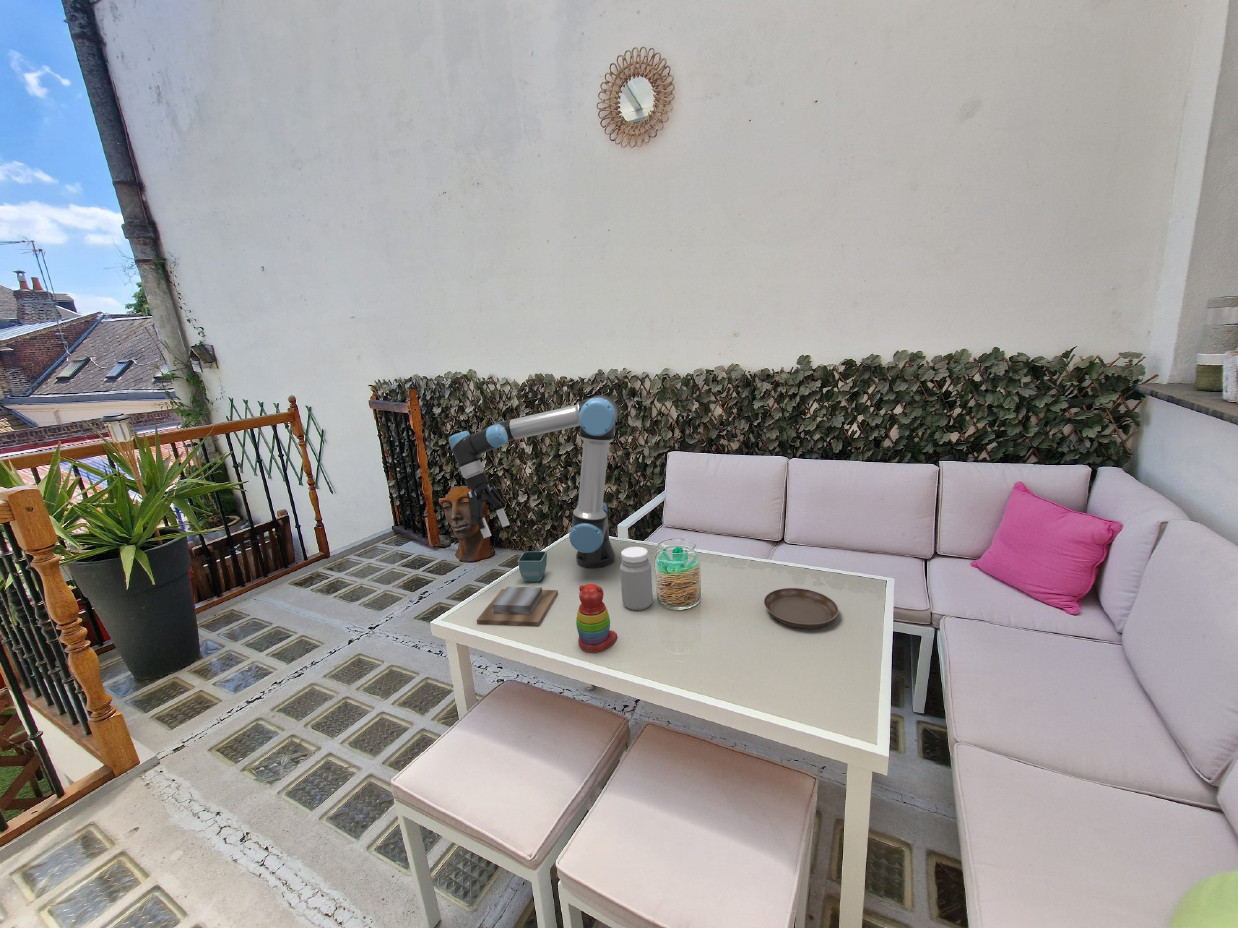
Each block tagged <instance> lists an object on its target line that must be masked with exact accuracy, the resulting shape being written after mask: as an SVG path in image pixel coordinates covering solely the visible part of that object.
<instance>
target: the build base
mask: <svg viewBox="0 0 1238 928" xmlns="http://www.w3.org/2000/svg"><path fill="white" fill-rule="evenodd" d="M558 595H559V592H558V590H557V589H543V588H542V586H541V587H539V586H537V587H536V586H507V587H506V588H501V589H500V591H499V592H498V593H497V594H496V596H495V597H494V598H493V600H491V602H490V603H489V604H488V605H487V607H485V609H484V610H483V612H481V614H480V615H479V616H478V617H477V619H476V624H477V625H484V626H485V625H490V626H515V627H516V626H517V627H518V626H519V627H540V626H541V624H542V623H543V620H544V619H545V617H546V616H547V614H548V612H549V610H550V608H551V607H552V605H553V604H554V602H555V600H556V598H557V597H558Z"/></svg>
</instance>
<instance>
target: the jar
mask: <svg viewBox="0 0 1238 928" xmlns="http://www.w3.org/2000/svg"><path fill="white" fill-rule="evenodd" d="M620 555H621V564H620V566H619V570H620V586H621V588H620V589H621V600H622V601H621V602H622V604H623V606H624V607H625V608H627V609H629V610H630V611H644V610H645V609H647V608H649V607H650V606H651V605H652V603H653V601H654V597H653V579H652V576H653V575H652V565H651V563H650V562H649V551H648V549H647V548H645V547H642V546H629V547H626V548H624V549H623V550H622V551H621V553H620Z"/></svg>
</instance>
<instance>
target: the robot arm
mask: <svg viewBox="0 0 1238 928" xmlns="http://www.w3.org/2000/svg"><path fill="white" fill-rule="evenodd" d="M618 414H619V408H618V405H617V403H616V402H615V400H614V399H613V398H611V397H610V396H608V395H605V394H598V395H594V396H592V397H590V398H587V399H584V400H583V399H582V400H580V401H577V402H576V404H575V405H570V406H566V407H561V408H557V409H554V410H553V409H552V410H548V411H544V412H539V413H535V414H531V415H526V416H522V417H517V418H513V419H509V420H505V421H504V420H499V421H497V422H495V423H494V424H492V425H490V426H487V427H486V428H483V429H482V430H479V431H477V432H475V433H472V434H470V432H469V431H467V430H465V431H461V432H457V433H455V434H453V435H450V436H449V437H448V444H449V446H450V449H451V452H452V454H453V456H454V458H455V462H457V465H458V468H459V470H460V473H461V475H462V477H463V478H464V483H465V485H466V488H467V489H468V490H471V491H469V492H467V493H466V495H467V499H468V508H469V514H470V515H469V517H470V520H471V521H472V522H476V523H477V526H478V528H479V529H480V533H481V535H482V537H483V539H487V538H489V537H491V536H492V533H491V530H490V528H489V526H488V524H487V521H486V518H485V517H483V510H484V507H483V506H484V502H485V501H487V502H488V503H489V504H491V505H492V506H493V508H495V512H496V514H497V517H498V520H499V522H500V524H501V527H502V528H504V527H507V526H510V521H509V519H508V516H507V514H506V512H505V509H504V508H506V502H505V500H504V499H503V498H502V497H501V495H500V494H499V493H498V492H497V490H496V489H495V487H494V484H493V483H489V484H487V483H488V482H489V478H488V476H487V474H486V472H484V471H485V469H484V466H483V463H482V461H481V459H480V455H482V454H484V453H487V452H490V451H493V450H495V449H498V448H500V447H503V446H505V445H506V444H508V442H512V441H516V440H520V439H525V438H528V437H533V436H538V435H542V434H543V435H544V434H548V433H552V432H557V431H563V430H566V429H567V430H568V429H571V428H575V427H579V438H580V439H581V440H582V441H583V444H582V456H581V467H580V478H579V479H580V480H579V490H578V491H579V492H578V502H577V503H578V504H577V505H576V508H575V509H574V510H573V512H572V523H571V529H570V531H569V538H568V539H569V542H570V544H571V546H572V548H574V550H576V554H575V561H576V564H577V565H579V566H580V567H582V568H589V569H593V568H595V569H597V568H602V567H605V566H608V565H610V564H612V563H614V562H615V560H616V552H615V550H614V548H613V545H612V542H611V541H610V534H609V533H610V531H609V519H608V510H609V509H608V507H607V504H606V503H605V502H604V495H605V486H606V485H605V484H606V476H607V474H606V473H607V466H608V465H607V464H608V455H609V445H610V443H611V442H613V441H614V438H615V429H616V420H617V418H618Z"/></svg>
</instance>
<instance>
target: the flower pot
mask: <svg viewBox="0 0 1238 928" xmlns="http://www.w3.org/2000/svg"><path fill="white" fill-rule="evenodd" d="M547 560H548V551H543V550H540V551H531V550H530V551H523V552H522V553H521V555H520V557H518V559H517V566H518V569H519V572H520V576H521V577H522V578H523V580H524V581H525V582H527V583H528V582H534V583H535V582H541V580H542V578H543V577H544V574H545V572H546V568H547V564H548V563H547V562H548V561H547Z"/></svg>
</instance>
